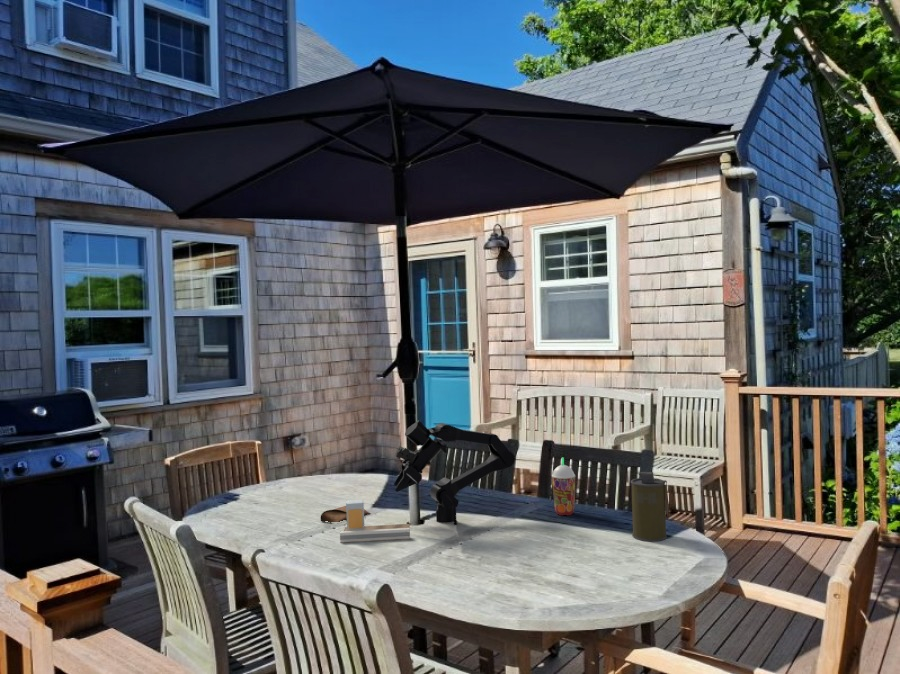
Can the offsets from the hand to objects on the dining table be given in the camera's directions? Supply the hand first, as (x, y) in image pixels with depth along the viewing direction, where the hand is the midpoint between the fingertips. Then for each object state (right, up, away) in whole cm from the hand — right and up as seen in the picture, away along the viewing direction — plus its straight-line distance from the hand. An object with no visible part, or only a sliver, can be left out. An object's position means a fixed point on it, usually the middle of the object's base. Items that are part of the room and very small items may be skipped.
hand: (395, 488), depth 248 cm
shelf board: (-6, -14, -9) cm, 17 cm away
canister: (+81, -11, -21) cm, 85 cm away
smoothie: (+59, -11, +10) cm, 61 cm away
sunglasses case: (-19, -15, +16) cm, 29 cm away
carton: (-12, -13, -11) cm, 21 cm away
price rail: (-5, -13, -16) cm, 22 cm away
